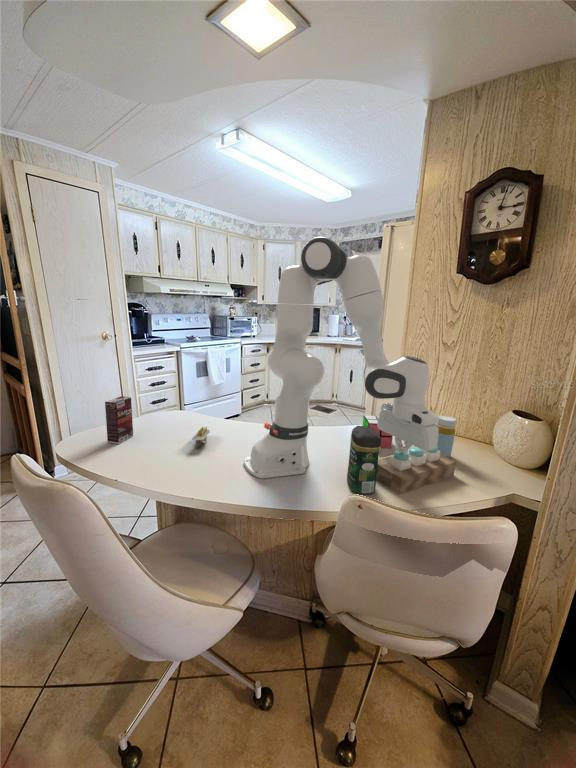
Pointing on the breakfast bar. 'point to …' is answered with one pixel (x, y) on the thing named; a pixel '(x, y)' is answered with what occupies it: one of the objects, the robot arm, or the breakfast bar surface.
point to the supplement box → (119, 419)
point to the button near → (400, 461)
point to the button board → (414, 474)
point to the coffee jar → (363, 459)
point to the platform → (201, 436)
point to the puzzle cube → (378, 430)
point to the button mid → (417, 456)
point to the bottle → (446, 435)
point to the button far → (432, 455)
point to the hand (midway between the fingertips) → (401, 452)
